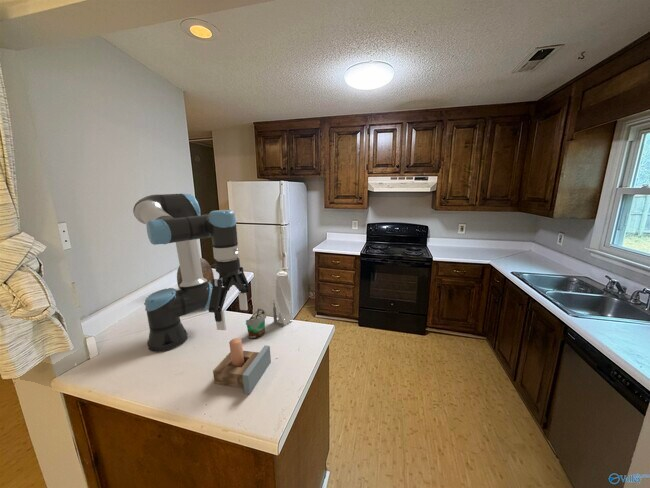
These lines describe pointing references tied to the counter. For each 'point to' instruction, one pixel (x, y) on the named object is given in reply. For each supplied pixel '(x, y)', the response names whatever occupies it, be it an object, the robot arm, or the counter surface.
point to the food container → (256, 324)
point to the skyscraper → (282, 298)
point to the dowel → (236, 352)
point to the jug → (206, 272)
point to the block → (232, 370)
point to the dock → (256, 369)
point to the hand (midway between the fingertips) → (233, 318)
